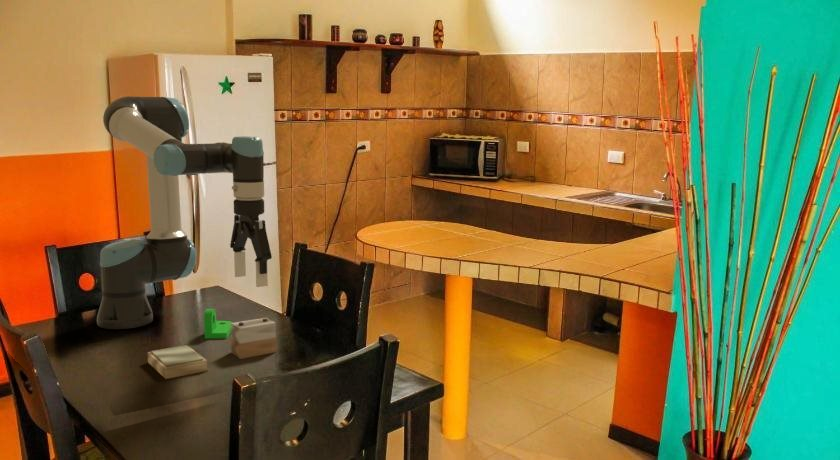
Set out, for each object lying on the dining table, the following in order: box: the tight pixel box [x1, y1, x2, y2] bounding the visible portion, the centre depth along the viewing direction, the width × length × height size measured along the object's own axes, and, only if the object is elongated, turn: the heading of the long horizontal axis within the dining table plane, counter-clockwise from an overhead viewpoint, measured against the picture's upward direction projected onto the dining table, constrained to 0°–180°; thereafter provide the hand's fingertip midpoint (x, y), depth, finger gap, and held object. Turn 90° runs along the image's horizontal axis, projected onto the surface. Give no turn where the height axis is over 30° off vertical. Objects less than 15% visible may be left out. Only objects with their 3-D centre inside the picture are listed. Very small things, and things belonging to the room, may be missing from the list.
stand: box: [147, 344, 208, 380], centre depth 181 cm, size 14×10×3 cm
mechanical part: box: [203, 308, 234, 339], centre depth 209 cm, size 12×6×8 cm, turn 4°
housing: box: [230, 317, 278, 360], centre depth 192 cm, size 6×10×8 cm, turn 126°
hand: (250, 281), depth 189 cm, fingers open, 13 cm apart
